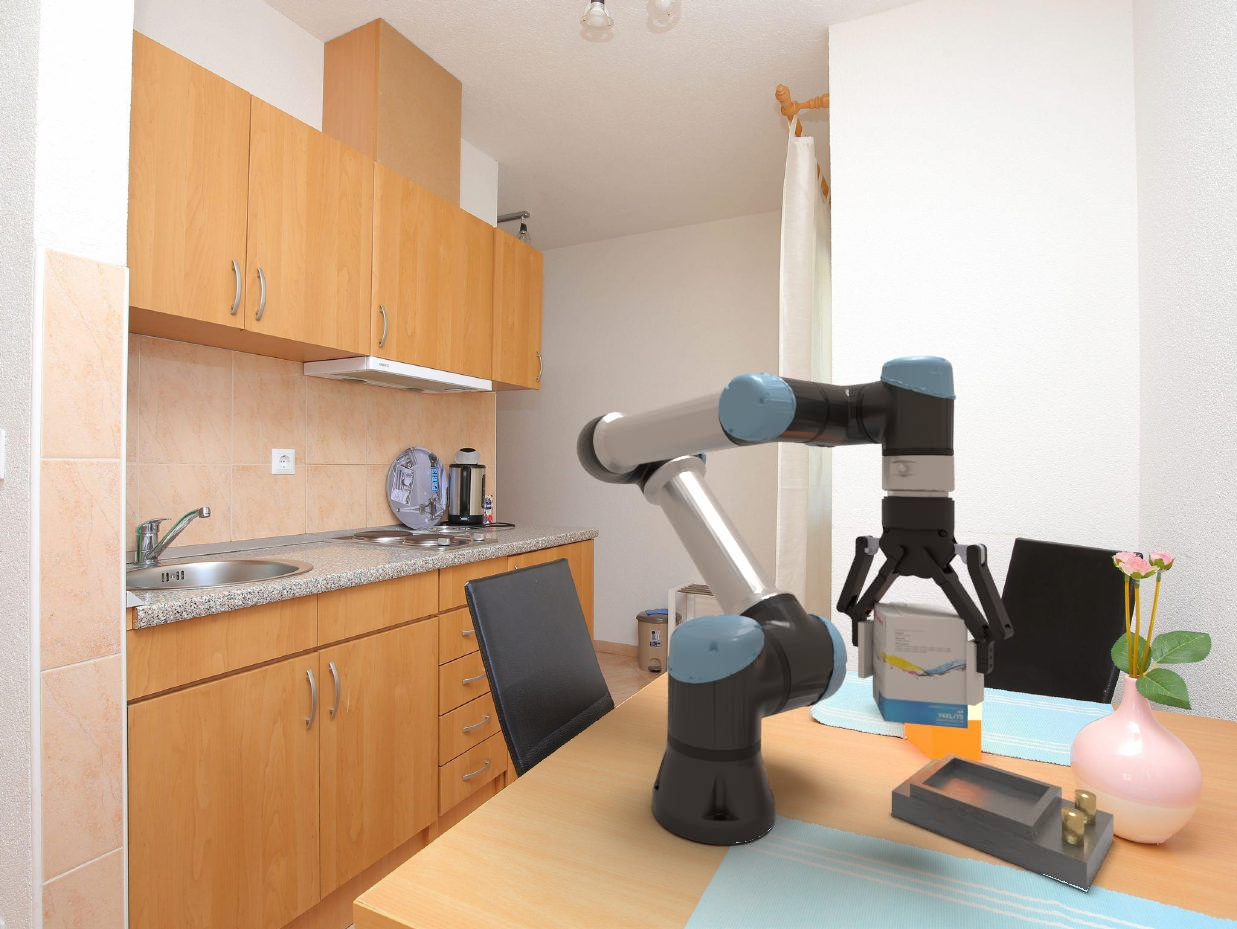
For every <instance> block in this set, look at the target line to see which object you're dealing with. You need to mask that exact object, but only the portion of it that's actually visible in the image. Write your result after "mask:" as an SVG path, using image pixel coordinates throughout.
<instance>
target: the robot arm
mask: <svg viewBox="0 0 1237 929" xmlns="http://www.w3.org/2000/svg"><path fill="white" fill-rule="evenodd" d="M953 370H954V369H953V365H952V363H951V362H950V361H949V360H947V359H946V358H945V357H940V356H936V355H935V356H934V355H933V356H932V355H911V356H903V357H902V356H901V357H898V358H893V359H890V360H887V361H886V362H884V363H883V364H882V366H881V373H880V376H879V378H880V379H879V380H876V381H874V382H873V381H871V382H866V383H858V384H857V383H856V384H848V385H840V384H839V385H838V384H831V383H825V382H817V381H811V380H803V379H798V378H797V379H796V378H791V377H784V376H778V375H775V374H770V373H765V372H762V373H742V374H738V375H736V376H734V377H733V378H732V379H731V380H730V382H729V383H728V384H726V385H725V386H724V388H723V389H721V390H718V391H714V392H710V393H706V394H703V395H699V396H694V397H692V398H688V399H685V400H680V401H677V402H673V403H669V404H665V405H661V406H657V407H655V408H650V409H647V410H643V411H640V412H635V413H631V414H627V413H624V412H617V411H616V412H611V413H610V412H609V413H607V414H603V415H599V416H597V417H594V418H593V419H591V420H590V421H587V423H586V424H585V425H584V426H583V427H582V428H581V431H580V432H579V434H578V437H577V442H576V454H577V457H578V462H579V463H580V465H581V467H582V468H583V469H584V470H585V473H588V474H589V475H590V476H591V477H592V478H594V479H595V480H597V481H601V482H603V483H606V484H607V483H608V484H614V485H615V484H617V485H636V486H637V487H638V488H639V489H640V491H641V493H642V494H643V497H644V498H645V500H646V501H647V502H648V503H649V504H651V505H653V506H659V507H660V508H661V509H662V511H663V512H664V515H665V517H666V519H668V522H669V523H670V525H671V526H672V528H673V530H674V531H675V533H676V534H677V536H678V539H679V540H680V542H681V544H682V545H683V547H684V548H685V549H686V552H687V553H688V556H689V557H690V559H691V560H692V562H693V564H694V566H695V567H696V569H697V571H698V572H699V574H700V576H701V578H702V580H704V582H705V584H706V585H707V587H708V589H709V591H710V592H711V594H712V596H713V597H714V599H715V601H716V603H717V604H718V606H719V608H720V609H721V611H722V613H723V614H720V615H717V616H716V615H713V614H712V615H711V614H710V615H705V616H704V615H703V616H699V617H695V618H691V619H689V620H687V621H684V622H682V623H681V624H679V625H678V626H677V627H675V629H674V630H673V631H672V633H671V635H670V639H669V647H668V648H669V649H668V656H667V658H666V659H667V661H666V669H667V722H666V725H667V726H666V727H667V731H666V732H667V734H666V735H667V737H666V747H665V750H664V753H663V756H662V760H661V762H660V765H659V768H658V771H657V775H656V779H654V782H653V786H652V794H651V798H652V799H651V800H652V801H651V809H652V813H653V816H654V817H655V819H656V820H657V822H658V823H659V824H660V825H661V826H662V827H663V828H665V829H667V830H668V831H670V832H671V833H673V834H676V835H677V836H679V837H682V838H685V839H688V840H691V841H695V842H700V843H704V844H711V845H734V844H733V843H736V842H745V841H749V842H751V841H750V840H752V839H755V840H757V839H756V838H758V837H759V836H762V835H763V834H764V833H766V832H767V831H768V830H769V829H770V828H771V827H772V826H773V827H774V825H775V824H774V823H775V820H776V802H775V800H776V799H775V795H774V793H773V790H772V787H771V783H770V781H769V777H768V774H767V773H768V772H767V769H766V766H765V763H764V759H763V755H762V725H763V724H762V720H763V719H764V718H768V717H772V716H776V715H779V714H782V713H786V712H789V711H794V710H797V709H800V708H804V707H805V708H809V707H812V706H816V705H818V704H819V703H820V702H822V701H824V700H827V699H830V698H831V697H832V696H834V695H835V694H836V693H837V692H838V691H839V689H840V688H842V686H843V684H844V681H845V679H846V675H847V663H848V654H847V646H846V644H845V641H844V638H843V635H842V634H841V632H840V631H839V629H838V628H837V626H836V625H835V624H834V623H833V622H832V621H831V620H829V619H828V618H826V617H825V616H820V615H818V614H815V613H813V612H812V613H807V611H806V610H805V608H804V607H803V605H802V604H801V602H800V601H799V600H798V598H797V597H796V596H795V594H794V593H793V592H791V591H788V590H787V591H786V590H782V589H778V587H777V586H776V584H774V582H773V580H772V578H771V577H770V575H769V574H768V572H767V571H766V570H765V568H764V567H763V565H762V564H761V562H760V561H759V558H757V556H756V555H755V553H754V552H753V550H752V549H751V548H750V546H749V544H748V543H747V542H746V540H745V539H744V537H743V536H742V534H741V532H740V531H739V530H738V528H737V526H736V525H735V523H734V522H733V521H732V518H730V516H729V514H728V513H727V511H726V509H724V507H723V506H722V504H721V502H720V501H719V499H718V498H717V496H716V495H715V493H714V492H713V490H712V489H711V487H710V486H709V484H708V483H707V481H706V480H705V475H706V472H707V468H706V463H707V454H708V453H712V452H719V451H723V450H731V449H736V448H742V447H750V446H758V445H763V444H764V445H765V444H770V443H772V444H773V443H795V444H804V445H805V446H808V447H816V448H817V447H818V448H836V447H841V446H842V447H845V446H859V445H860V446H861V445H872V444H873V445H881V489H882V490H883V491H884V492H886V493H887V494H886V495H885V496H883V498H882V499H881V525H882V526H881V527H882V533H881V536H880V537H874V536H873V535H861V536H860V535H859V536H857V537H856V538H855V541H854V542H855V543H854V544H855V545H854V546H855V550H854V554H855V555H854V557H853V560H852V563H851V565H850V568H849V571H848V572H847V575H846V576H847V577H846V579H845V581H844V584H843V587H842V589H841V592H840V594H839V597H838V600H837V603H836V607H835V608H836V610H837V612H838V613H839V614H840V613H842V614H845V615H846V616H848V617H849V619H850V620H851V643H852V647H856V648H857V651H858V652H857V656H858V657H857V658H858V659H857V677H858V678H859V679H863V680H864V679H867V678H869V677H873V620H874V619H871V618H870V617H871V616H872V615H871V614H872V612H874V604H875V603H878V602H880V601H881V600H882V598H883V597H884V596H885V595H886V593H887V592H888V590H889V589H890V587H891V586H892V585H893V584H894V582H895V581H896V580H897V579H898V578H899V577H906V578H907V577H912V576H913V577H914V576H915V577H917V578H918V579H924V580H929V579H932V580H933V582H934V584H935V585H937V586H938V587H939V588H940V589H941V590H942V593H943V594H944V595H945V596H946V598H947V599H948V601H949V603H950V604H951V605H952V607H953V610H954V611H955V612H957V613H958V615H959V616H960V618H961V619H962V620H964V624H965V625H966V627H967V628H968V631H969V633H970V635H971V636H972V637H973V639H970V640H968V641H967V642H966V704H967V705H971V706H976V705H977V704H979V703H981V702H982V703H983V702H984V701H985V680H984V679H985V675H988V674H990V673H992V671H993V670H994V643H995V642H998V641H1004V640H1006V639H1008V638H1010V637H1012V636H1014V634H1015V631H1014V630H1015V629H1014V627H1013V625H1012V622H1011V619H1010V617H1009V616H1008V612H1007V611H1006V607H1005V605H1004V603H1003V600H1002V597H1001V595H1000V593H999V590H998V588H997V585H996V583H995V580H994V578H993V576H992V575H993V574H992V573H991V571H990V568H989V566H988V547H987V546H986V545H985V544H983V543H976V544H974V543H973V544H964V543H963V544H961V543H958V542H957V540H956V537H955V528H956V525H955V524H956V520H955V519H956V518H955V517H956V516H955V513H956V512H955V508H956V506H955V503H956V502H955V500H954V499H953V497H950V496H949V494H950V493H952V492H953V491H955V489H956V487H955V480H956V479H955V450H954V434H955V432H954V431H955V427H954V426H955V400H956V399H957V398H956V397H957V396H956V394H955V387H954V386H955V385H954V384H955V383H954V371H953ZM879 549H880V550H881V552H882V553H883V555H884V556H885V558H886V560H885V561H884V562H883V564H882V566H881V567H880V568H879V569H878V572H877V575H876V576H875V578H874V579H873V580H872V582H871V583H870V584H869V585H868V587H867V589H866V590H865V591H864V592H863V594H862V595H861V593H862V590H863V588H864V586H865V583H866V579H867V577H868V575H869V572H870V570H871V567H872V563H873V561H874V558H875V555H877V553H878V552H879ZM957 555H958V556H959V557H960V560H961V562H962V563H963V564H964V565H966V568H967V571H968V575H969V577H970V580H971V582H972V585H973V588H974V589H975V594H976V595H977V598H978V601H979V604H980V605H981V608H982V610H983V614H982V611H980V609H979V607H978V606H977V605H976V603H975V602H974V600H973V599H972V597H971V596H970V594H969V593H968V591H967V590H966V588H965V587H964V585H963V583H962V582H961V581H960V576H959V575H958V573H957V572H956V570H955V568H953V566H952V565H951V563H952V561H953V560H954V559H955V557H956V556H957ZM860 595H861V597H860ZM984 616H985V617H984ZM868 618H869V619H868ZM773 824H774V825H773ZM773 827H772V828H773ZM772 828H771V829H772ZM771 829H770V830H771ZM767 833H768V832H767ZM767 833H766V834H767ZM763 836H764V835H763ZM763 836H762V837H763ZM758 839H759V838H758ZM752 841H753V840H752ZM745 843H746V842H745Z"/></svg>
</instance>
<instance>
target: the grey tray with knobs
mask: <svg viewBox="0 0 1237 929" xmlns="http://www.w3.org/2000/svg"><path fill="white" fill-rule="evenodd" d="M1062 793H1063V788H1062V786H1058V785H1056V784H1052V783H1048V782H1046V781H1042V780H1039V779H1035V778H1033V777H1032V778H1031V777H1029V776H1026V775H1022V774H1018V773H1016V772H1012V771H1009V770H1005V769H1003V768H999V767H996V766H993V765H990V764H986V763H982V762H980V761H978V760H970V759H967V758H964V757H961V756H957V755H954V754H951V753H948V754H947V755H946V756H944V757H943V758H942V759H941V760H940V759H936V758H934V759H933V760H931V761H929V762H928V763H926V764H925V765H924V766H922V767H921V768H920V769H919V770H917V771H915V773H913V774H912V775H911V776H910V777H908V778H907V779H906V780H904V781H903V782H901V783H900V784H898V786H896V787H895V788H894V789H892V790H891V816H893V817H895V818H897V819H900V820H902V821H906V822H908V823H910V824H913V825H916V826H918V827H921V828H923V829H926V830H928V831H931V832H933V833H936V834H939V835H940V836H943V837H946V838H947V839H948V838H949V839H951V840H953V841H954V842H955V841H956V842H958V843H961V844H963V845H966V846H969V847H970V848H974V849H976V850H978V851H981V852H984V853H986V854H988V855H991V856H994V857H996V858H999V859H1001V860H1004V861H1005V862H1009V863H1011V864H1014V865H1016V866H1018V867H1021V868H1024V869H1026V870H1029V871H1031V872H1034V873H1036V874H1038V875H1041V874H1045V875H1048V876H1051V877H1053V878H1056V879H1059V880H1061V881H1065V882H1067V883H1068V884H1072V885H1075V886H1078V887H1080V888H1083V889H1084V890H1087V889H1088V887H1089V886H1090V887H1091V885H1092V883H1093V881H1094V879H1095V877H1096V875H1097V873H1098V871H1099V869H1100V867H1101V865H1102V863H1103V861H1104V860H1105V858H1106V856H1107V854H1108V852H1109V850H1110V848H1111V846H1112V844H1113V842H1114V813H1113V814H1112V813H1110V812H1106V811H1104V810H1100V809H1097V796H1096V794H1095V793H1094V792H1091V791H1088V790H1085V789H1075V790H1074V801H1071V800H1068V799H1065V798H1063V797H1062V796H1063V794H1062ZM1090 887H1089V888H1090ZM1088 890H1089V889H1088Z"/></svg>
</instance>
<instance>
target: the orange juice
mask: <svg viewBox="0 0 1237 929" xmlns="http://www.w3.org/2000/svg"><path fill="white" fill-rule="evenodd" d="M982 714H983V701H982V702H981V703H979V704H977V705H976V706H971V705H968V728H967V729H965V728H953V727H941V726H930V725H918V724H908V723H904V729H903V730H904V734H905V736H906V737H907V738H906V737H905V736H904V737H905V738H906V739H907V740H908V741H909V742H910V743H912V744H913V745H914V746H915V747H916V748H917V749H919V751H921V752H922V753H923V754H924V755H925V756H927V757H928V758H929V759H930V760H931V761H932V760H933V759H934V758H936V759H940V760H941V759H942V758H943V757H944V756H946V755H947V754H948V753H951V754H954V755H957V756H961V757H964V758H967V759H970V760H974V761H982V720H983V715H982Z"/></svg>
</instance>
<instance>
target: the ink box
mask: <svg viewBox="0 0 1237 929" xmlns="http://www.w3.org/2000/svg"><path fill="white" fill-rule="evenodd" d="M872 620H873V675H872V698H873V700H874V702H875V704H876V706H877V708H878V710H879V713H880V715H881V717H882V720H883V722H890V723H897V724H898V723H899V724H902V723H903V724H905V723H908V724H918V725H930V726H941V727H953V728H965V729H967V728H968V705H967V704H966V642H967V641H969V640H968V638H969V637H968V634H969V632H968V631H969V630H968V628H967V627H966V625H965V624H964V620H962V619H961V618H960V616H959V615H958V613H957V612H956V610H955V609H954V608H951V607H950V606H948V605H941V604H930V603H929V604H928V603H917V602H916V603H914V602H904V601H903V602H901V601H890V602H880V601H879V602H878V603H875V604H874V609H873V619H872Z"/></svg>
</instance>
